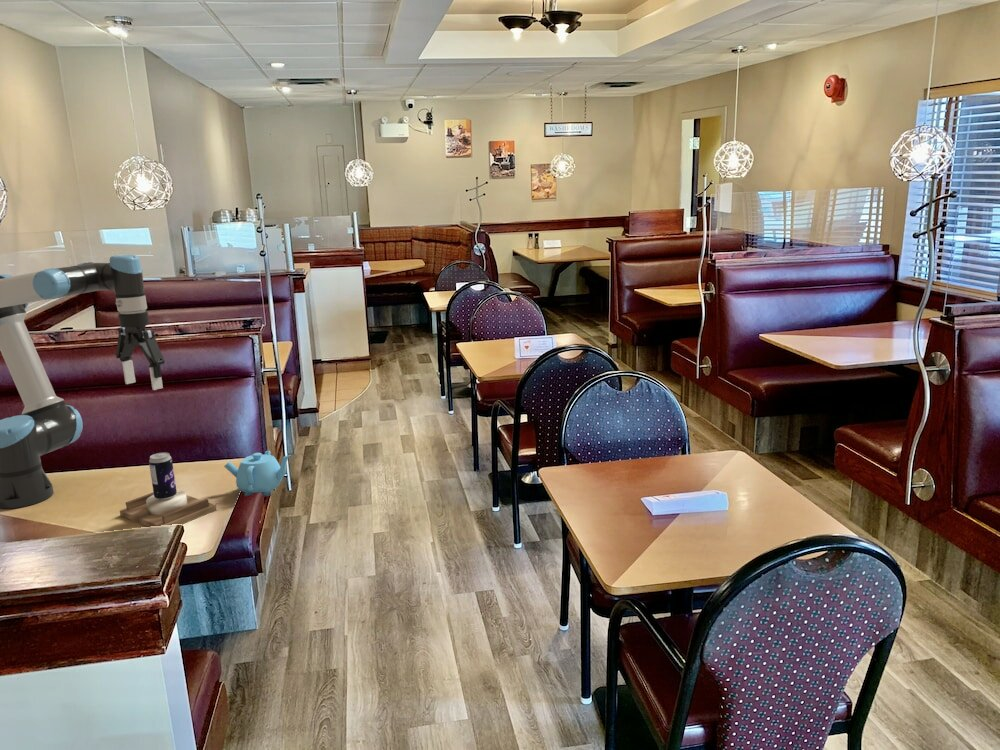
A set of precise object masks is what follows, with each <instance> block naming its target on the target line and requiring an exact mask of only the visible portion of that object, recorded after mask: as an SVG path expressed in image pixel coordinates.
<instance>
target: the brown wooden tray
mask: <svg viewBox="0 0 1000 750" xmlns="http://www.w3.org/2000/svg"><path fill="white" fill-rule="evenodd" d="M176 491H177V493H176V494H175V495H174V497H173V498H171V499H168V500H158V499H157V498H155V497H154V492H150V493H147V494H145V495H141V496H139V497H137V498H134V499H130V500H128V501H126V502H125V506H126V507H125V508H122V509H119V514H120V517H123V518H126V519H129V520H130V519H131V520H130V521H133V522H135V521H136V523H139V524H140V525H144V526H146V527H148V526H161V525H172V524H182V525H184V524H186V523H189V522H191V521H193V520H196V519H198V518H200V517H203V516H206V515H209V514H210V513H212V512H216V511H217V505H216V504H215V503H211V502H209V499H208V498H203V499H199V498H196V497H194V496H190V495H188V494H187V493H186V492H185V491H183V490H178V489H176Z"/></svg>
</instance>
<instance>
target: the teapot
mask: <svg viewBox="0 0 1000 750" xmlns="http://www.w3.org/2000/svg"><path fill="white" fill-rule="evenodd" d="M271 454H272V452H271V450H266V451H264V454H263V453H261V452H255V453H252V454H251V455H248V456H246V457H244V458H243V459H242V460H241V461H240V462H239V463H240V464H239V465H238V467H237V466H235V465H234V464H233V463H232V462H231V461H228V462H227V463H226V464H225V465H224V468H225V469H226V470H227V471H228V472H230V473H231V474H232V475H233V476H234V478H235V484H236V487H237V488H238V490H239V491H241V492H242V493H244V494H243V496H245V497H249V496H252V495H253V494H258V493H262V496H263V497H264V496H265V497H268V496H271V494H272V493H271V491H274V490H276V489H277V488H278V487H279V485H280V484H281V482H282V480H283V479H284V477H285V476H286V474H287V461H288V459H289V458H290V457H291V456H292V454H288V455H284V456H283V457H282V459H281V461H280V462H281V464H280V463H279V461H278V460H277V458H276V457H275V455H271Z"/></svg>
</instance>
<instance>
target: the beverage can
mask: <svg viewBox="0 0 1000 750" xmlns="http://www.w3.org/2000/svg"><path fill="white" fill-rule="evenodd" d="M148 466H149V471H150V472H149V473H150V478H151V484H152V491H153V492H154V497H155V498H157V499H158V500H168V499H171V498H173V497H174V495H175V494H176V493H177V491H176V490H177V483H176V477H175V470H174V464H173V458H172V456H171V455H170V453H169V452H165V451H164V452H158V453H157V452H156V453H154V454H152V455H150V456H149V460H148ZM153 492H152V493H153Z"/></svg>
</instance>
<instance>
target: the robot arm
mask: <svg viewBox="0 0 1000 750" xmlns="http://www.w3.org/2000/svg"><path fill="white" fill-rule="evenodd" d="M143 277H144V276H143V269H142V264H141V258H140V257H139V256H138V255H137V254H120V255H113V256H112V255H111V256H110V257H109V262H93V261H91V262H82V263H79V264H77V265H71V266H63V267H56V268H48V269H44V270H40V271H37V272H30V273H25V274H20V275H19V274H18V275H15V276H14V275H13V276H12V275H10V274H0V353H1V355H2V358H3V360H4V362H5V364H6V366H7V369H8V372H9V374H10V376H11V378H12V381H13V382H14V385H15V387H16V389H17V392H18V394H19V396H20V398H21V401H22V403H23V406H24V408H23V410H22V412H21V414H19V415H13V416H10V417H5V418H2V419H0V509H18V508H24V507H28V506H32V505H35V504H38V503H41V502H43V501H46V500H48V499H49V498H51V497H52V496H53V495H54V487H53V486H54V485H53V483H52V482H51V480H50V478H49V477H48V475H47V474H46V472H45V471H44V469H43V466H42V460H41V456H44V455H46V454H48V453H51V452H55V451H56V450H58V449H59V450H60V449H62V448H64V447H65V448H66V447H67V446H69V445H70V444H72V443H74V442H75V441H78V439H79V438H80V436H81V435H82V434H81V433H82V432H83V428H84V427H83V425H84V424H83V418H82V416H81V414H80V412H79V411H78V409H76V408H75V407H74V406H72V405H70V404H66V401H65V400H64V399H65V398H62V397H59V396H57V395H56V393H55V390H54V387H53V385H52V383H51V381H50V379H49V377H48V374H47V372H46V370H45V367H44V365H43V362H42V360H41V358H40V356H39V354H38V352H37V349H36V347H35V344H34V342H33V339H32V337H31V335H30V333H29V330H28V328H27V326H26V322H25V319H26V317H27V314H28V313H27V310H26V309H27V308H28V306H29V304H30V303H35V302H41V301H46V300H58V299H61V298H65V297H70V296H74V295H82V294H86V293H92V292H97V291H99V292H100V291H113V292H114V296H115V305H116V308H117V309H116V310H117V311H118V315H117V317H118V324H119V326H120V327H118V328H117V332H118V333H117V334H118V337H117V345H116V346H117V347H116V353H115V358H116V359H119V361H120V362H121V364H122V369H123V370H122V371H123V377H124V383H125V385H130V384H134V383H136V382H137V380H136V375H135V368H134V362H133V357H132V355H133V351H134V350H135V347H136V346H137V348H140V349H141V351H142V353H143V355H144V356H145V359H146V360H147V361H148V363H149V366H148V368H149V374H150V376H149V377H150V381H151V388H152V391H157V390H160V389H164V387H163V386H164V385H163V379H162V371H161V370H162V369H161V366H162V365H164V364H165V363H166V361H165V359H164V356H163V354H162V351H161V349H160V347H159V344H158V342H157V339H156V337H155V332H154V330H153V329H149V330H147V328H146V327H147V325H149V324H150V319H149V312H148V311H147V309H148V304H147V299H146V298H147V297H146V292H145V286H144V285H145V284H144V278H143Z"/></svg>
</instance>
